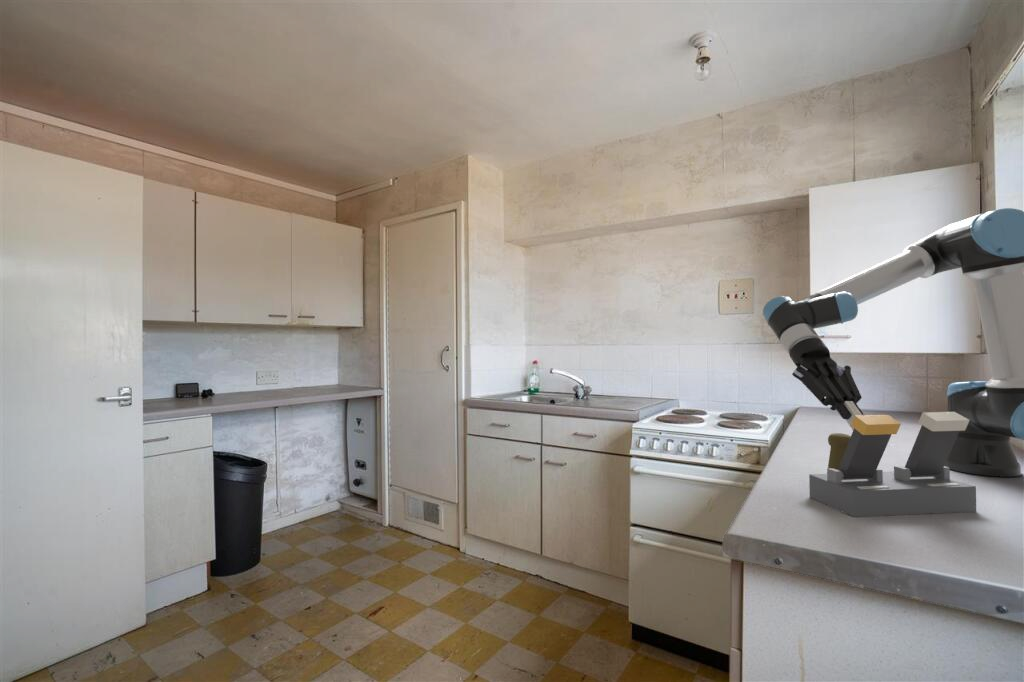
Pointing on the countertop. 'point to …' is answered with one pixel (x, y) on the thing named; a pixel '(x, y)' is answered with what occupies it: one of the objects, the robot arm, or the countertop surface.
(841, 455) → the cork
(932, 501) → the switch block
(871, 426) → the amber lever
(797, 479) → the countertop surface
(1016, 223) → the robot arm
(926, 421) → the cream lever
